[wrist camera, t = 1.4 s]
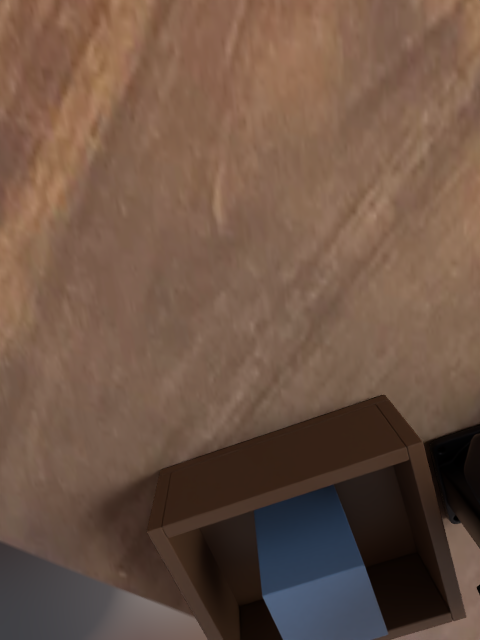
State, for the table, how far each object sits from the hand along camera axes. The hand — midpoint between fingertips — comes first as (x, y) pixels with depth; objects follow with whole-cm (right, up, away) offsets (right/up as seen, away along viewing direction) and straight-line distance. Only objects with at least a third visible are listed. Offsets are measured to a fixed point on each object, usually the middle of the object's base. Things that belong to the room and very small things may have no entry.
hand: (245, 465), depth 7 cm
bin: (+4, -10, +18) cm, 21 cm away
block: (+4, -10, +17) cm, 20 cm away
